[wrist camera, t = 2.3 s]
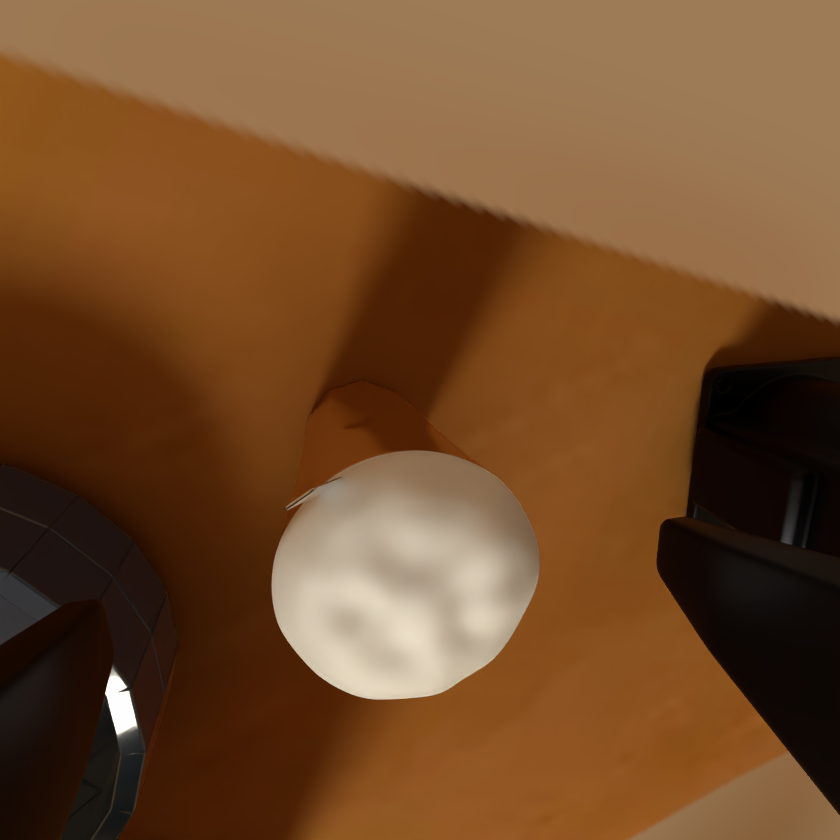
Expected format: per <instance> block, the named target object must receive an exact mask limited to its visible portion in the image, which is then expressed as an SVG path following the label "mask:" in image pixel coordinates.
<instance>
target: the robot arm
mask: <svg viewBox="0 0 840 840" xmlns="http://www.w3.org/2000/svg"><path fill="white" fill-rule="evenodd" d="M721 378H722V380H723V381H722V384H721V386H720V387H719V388H718V386H717V385H718V382H719V380H720V379H721ZM657 569H658V572H659V575H660V577H661V578H662V580H663V581H664V583H665V585H666V586H667V588H668V589H669V591H670V592H671V594H672V595H673V597H674V598H675V600H676V601H677V603H678V604H679V606H680V607H681V609H682V611H683V612H684V614H685V615H686V617H687V618H688V620H689V621H690V623H691V624H692V626H693V627H694V629H695V630H696V632H697V634H698V635H699V637H700V638H701V640H702V641H703V642H704V644H705V645H706V647H707V648H708V650H709V651H710V652H711V654H712V655H713V656H714V658H715V659H716V660H717V662H718V663H719V664H720V665H721V667H722V668H723V669H724V670H725V672H726V673H727V674H728V675H729V677H730V678H731V679H732V680H733V682H734V683H735V684H736V686H737V687H738V688H739V689H740V691H741V692H742V693H743V694H744V696H745V697H746V698H747V699H748V701H749V702H750V703H751V704H752V706H753V707H754V708H755V709H756V711H757V712H758V713H759V714H760V716H761V717H762V718H763V719H764V721H765V722H766V723H767V725H768V726H769V727H770V728H771V730H772V731H773V732H774V733H775V735H776V736H777V737H778V738H779V740H780V741H781V742H782V743H783V745H784V746H785V747H786V748H787V750H788V751H789V752H790V753H791V755H792V756H793V757H794V758H795V760H796V761H797V762H798V763H799V765H800V766H801V767H802V768H803V770H804V771H805V772H806V773H807V775H808V776H809V777H810V779H811V780H812V781H813V782H814V784H815V785H816V786H817V787H818V789H819V790H820V791H821V792H822V793H823V795H824V796H825V797H826V799H827V800H828V801H829V802H830V804H831V805H832V806H833V807H834V809H835V810H836V811H837V813H838V814H839V815H840V356H838V357H827V358H816V359H804V360H793V361H782V362H770V363H759V364H748V365H736V366H725V367H717V368H713V369H712V370H710V371H709V372H708V373H707V374H706V376H705V377H704V380H703V385H702V393H701V401H700V410H699V418H698V426H697V434H696V443H695V451H694V459H693V467H692V475H691V484H690V492H689V500H688V508H687V517H679V518H672V519H667V520H665V521H664V522H663V523H662V524H661V526H660V532H659V542H658V551H657ZM113 659H114V646H113V642H112V637H111V633H110V629H109V625H108V621H107V617H106V613H105V609H104V606H103V604H102V603H101V601H99V600H98V599H87V600H80V601H73V602H69V603H66V604H64V605H63V606H61V607H60V608H58V609H56V610H55V611H53V612H52V613H50V614H48V615H47V616H45V617H44V618H42V619H41V620H39V621H37V622H36V623H34V624H33V625H31V626H29V627H28V628H26V629H25V630H23V631H22V632H20V633H18V634H17V635H15V636H14V637H12V638H11V639H9V640H7V641H6V642H4V643H3V644H1V645H0V840H60V838H61V836H62V833H63V830H64V827H65V825H66V822H67V819H68V817H69V814H70V811H71V808H72V806H73V803H74V800H75V798H76V795H77V792H78V790H79V787H80V784H81V781H82V778H83V775H84V772H85V769H86V767H87V763H88V760H89V756H90V752H91V749H92V745H93V741H94V737H95V733H96V729H97V725H98V721H99V717H100V713H101V709H102V705H103V701H104V697H105V693H106V689H107V685H108V681H109V677H110V673H111V669H112V665H113Z"/></svg>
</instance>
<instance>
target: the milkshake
mask: <svg viewBox="0 0 840 840" xmlns="http://www.w3.org/2000/svg"><path fill="white" fill-rule="evenodd" d="M285 510H288V512H287V516H286V520H285V523H284V527H283V530H282V534H281V537H280V541H279V545H278V548H277V551H276V555H275V559H274V564H273V570H272V600H273V606H274V612H275V616H276V619H277V622H278V625H279V627H280V629H281V631H282V633H283V635H284V636H285V638H286V639H287V641H288V642H289V644H290V645H291V646H292V648H293V649H294V650H295V651H296V653H297V654H298V655H299V656H300V657H301V659H302V660H303V661H304V662H305V663H306V664H307V665H308V666H309V667H310V668H311V669H312V670H313V671H314V672H315V673H316V674H317V675H318V676H320V677H321V678H322V679H324V680H325V681H327V682H328V683H330V684H331V685H333V686H335V687H337V688H339V689H341V690H343V691H345V692H347V693H349V694H352V695H355V696H358V697H362V698H368V699H381V700H384V699H405V698H417V697H426V696H432V695H436V694H439V693H442V692H444V691H446V690H448V689H449V688H451V687H453V686H454V685H456V684H457V683H458V682H460V681H461V680H463V679H464V678H466V677H467V676H469V675H471V674H472V673H474V672H476V671H477V670H479V669H481V668H482V667H484V666H485V665H487V664H488V663H489V662H491V661H492V660H493V659H494V658H495V657H496V656H497V655H498V654H499V653H500V651H501V650H502V649H503V648H504V646H505V645H506V643H507V642H508V641H509V639H510V637H511V636H512V634H513V632H514V631H515V629H516V627H517V625H518V624H519V622H520V620H521V618H522V616H523V614H524V612H525V610H526V608H527V607H528V605H529V603H530V601H531V599H532V596H533V594H534V591H535V588H536V585H537V581H538V576H539V568H540V559H539V548H538V543H537V539H536V536H535V533H534V530H533V527H532V525H531V523H530V521H529V519H528V517H527V515H526V513H525V511H524V510H523V508H522V506H521V505H520V503H519V501H518V500H517V498H516V497H515V496H514V494H513V493H512V492H511V490H510V489H509V488H508V487H507V486H506V485H505V484H504V483H503V482H502V481H501V480H500V479H499V478H498V477H496V476H495V475H494V474H492V473H491V472H489V471H487V470H486V469H485V468H483V467H482V466H481V465H480V464H478V463H477V462H476V461H475V460H473V459H472V458H471V457H470V456H468V455H467V454H466V453H465V452H463V451H462V450H461V449H460V448H458V447H457V446H456V445H455V444H453V443H452V442H451V441H450V440H448V439H447V438H446V437H445V436H444V435H443V434H442V433H440V432H439V431H438V430H437V429H436V428H435V427H434V426H433V425H432V424H431V423H430V422H429V421H428V420H426V419H425V418H424V417H423V416H422V415H421V414H420V413H419V412H418V411H417V410H416V409H414V408H413V407H412V406H411V405H410V404H409V403H408V402H407V401H406V400H405V399H404V398H402V397H401V396H400V395H399V394H398V393H397V392H396V391H394V390H391V389H388V388H384V387H381V386H378V385H375V384H372V383H370V382H367V381H364V380H362V381H359V382H356V383H352V384H349V385H346V386H343V387H339V388H336V389H333V390H330V391H329V392H328V393H327V395H326V396H325V397H324V399H323V400H322V401H321V402H320V404H319V405H318V406H317V408H316V409H315V410H314V411H313V413H312V414H311V415H310V417H309V418H308V423H307V428H306V433H305V437H304V442H303V447H302V452H301V457H300V462H299V467H298V472H297V477H296V482H295V486H294V490H293V494H292V498H291V502H290V503H289V504H288V505H287V506H286V507H285Z"/></svg>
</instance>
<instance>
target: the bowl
mask: <svg viewBox="0 0 840 840" xmlns="http://www.w3.org/2000/svg"><path fill="white" fill-rule="evenodd" d="M133 540H134V539H133V538H132V537H130V536H129V535H128V534H127V533H126V532H124V531H123V530H122V529H121V528H119V527H118V526H117V525H116V524H114V523H113V522H112V521H111V520H110V519H108V518H107V517H106V516H105V515H103V514H102V513H101V512H100V511H98V510H97V509H96V508H95V507H94V506H92V505H91V504H90V503H89V502H87V501H86V500H85V499H84V498H82V497H81V496H80V495H79V496H78V495H77V494H75V493H73V492H71V491H69V490H66V489H64V488H62V487H59V486H57V485H55V484H52V483H50V482H48V481H45V480H43V479H41V478H39V477H36V476H34V475H32V474H29V473H27V472H25V471H22V470H20V469H18V468H15V467H13V466H11V465H9V464H3V463H2V462H0V645H1V644H3V643H4V642H6V641H7V640H9V639H11V638H12V637H14V636H15V635H17V634H18V633H20V632H22V631H23V630H25V629H26V628H28V627H29V626H31V625H33V624H34V623H36V622H37V621H39V620H41V619H42V618H44V617H45V616H47V615H48V614H50V613H52V612H53V611H55V610H56V609H58V608H60V607H61V606H63V605H64V604H66V603H69V602H73V601H80V600H87V599H98V600H99V601H101V603H102V604H103V606H104V609H105V613H106V617H107V621H108V625H109V629H110V633H111V637H112V642H113V646H114V659H113V665H112V669H111V673H110V677H109V681H108V685H107V689H106V693H105V697H104V701H103V705H102V709H101V713H100V717H99V721H98V725H97V729H96V733H95V737H94V741H93V745H92V749H91V752H90V756H89V760H88V763H87V767H86V769H85V772H84V775H83V778H82V781H81V784H80V787H79V790H78V792H77V795H76V798H75V800H74V803H73V806H72V808H71V811H70V814H69V817H68V819H67V822H66V825H65V827H64V830H63V833H62V836H61V838H60V840H117V838H118V837H119V835H120V834H121V832H122V831H123V829H124V828H125V826H126V824H127V823H128V821H129V820H130V818H131V817H132V815H133V814H134V811H135V809H136V806H137V803H138V800H139V796H140V793H141V789H142V786H143V783H144V779H145V776H146V772H147V769H148V765H149V762H150V759H151V755H152V752H153V748H154V745H155V742H156V738H157V735H158V731H159V728H160V725H161V721H162V718H163V714H164V711H165V708H166V704H167V701H168V697H169V693H170V688H171V683H172V678H173V673H174V668H175V663H176V658H177V653H178V641H177V636H176V631H175V626H174V621H173V616H172V611H171V606H170V601H169V596H168V593H166V589H165V587H164V586H163V584H162V583H161V581H160V580H159V578H158V577H157V575H156V573H155V572H154V570H153V569H152V567H151V566H150V564H149V563H148V561H147V559H146V558H145V556H144V555H143V553H142V552H141V550H140V549H139V547H138V545H137V544H136V542H135V541H133Z"/></svg>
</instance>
